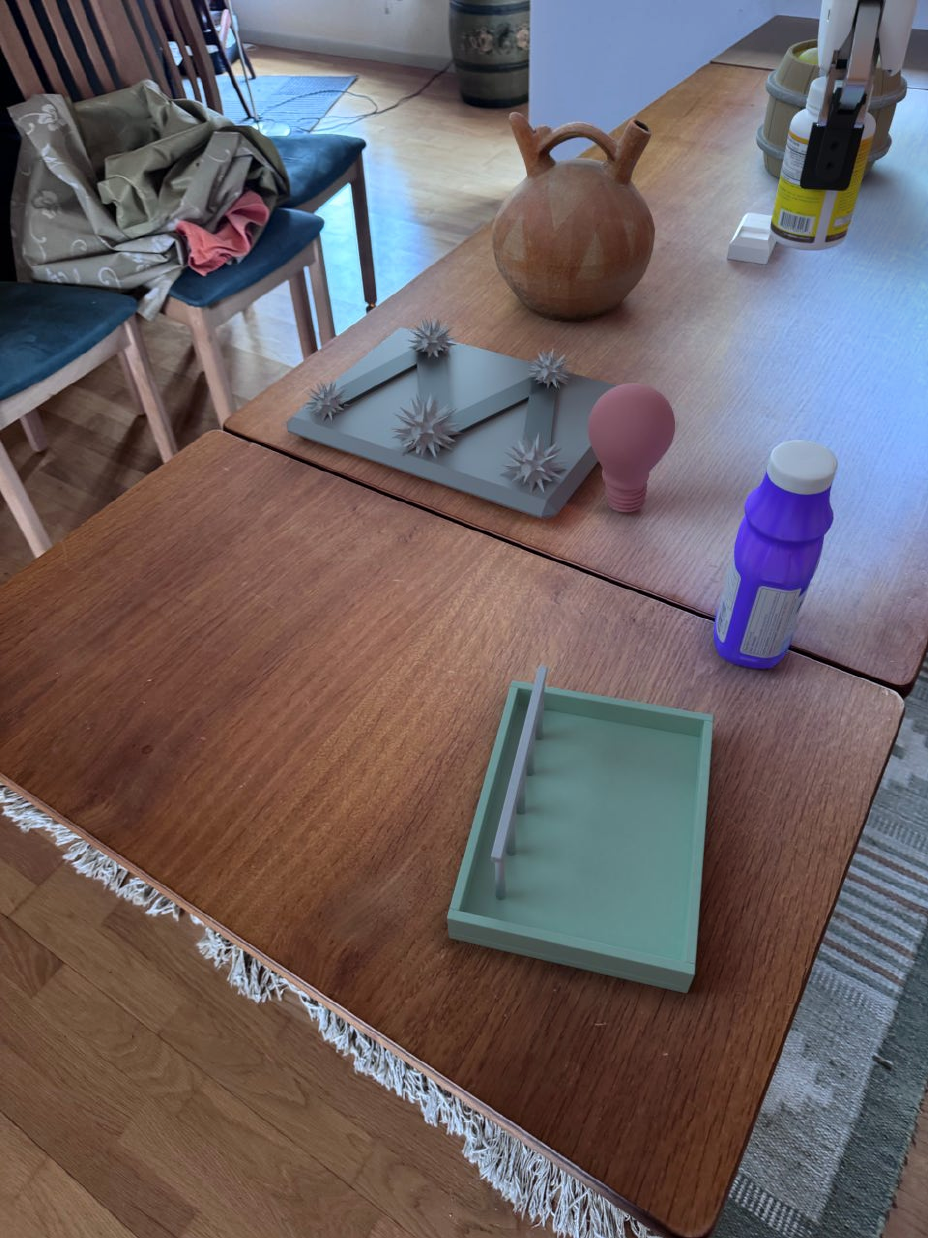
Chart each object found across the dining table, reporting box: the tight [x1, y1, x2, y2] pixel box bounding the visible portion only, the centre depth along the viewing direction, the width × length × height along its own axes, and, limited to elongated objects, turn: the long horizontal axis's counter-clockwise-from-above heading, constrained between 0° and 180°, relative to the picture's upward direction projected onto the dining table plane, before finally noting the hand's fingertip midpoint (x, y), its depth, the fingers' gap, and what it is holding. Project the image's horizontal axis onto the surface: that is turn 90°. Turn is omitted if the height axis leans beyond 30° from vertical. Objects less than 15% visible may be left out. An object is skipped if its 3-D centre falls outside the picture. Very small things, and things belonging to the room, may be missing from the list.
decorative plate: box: [285, 315, 620, 521], centre depth 86 cm, size 30×22×7 cm
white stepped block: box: [726, 212, 778, 266], centre depth 112 cm, size 5×9×3 cm, turn 156°
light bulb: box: [588, 382, 676, 513], centre depth 74 cm, size 7×7×12 cm
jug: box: [491, 111, 656, 323], centre depth 98 cm, size 18×18×20 cm
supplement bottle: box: [770, 76, 876, 252], centre depth 62 cm, size 6×6×10 cm
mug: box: [755, 38, 908, 180], centre depth 122 cm, size 19×25×15 cm
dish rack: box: [446, 664, 715, 994], centre depth 54 cm, size 14×18×7 cm
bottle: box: [713, 439, 839, 670], centre depth 61 cm, size 7×6×17 cm
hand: (822, 168), depth 62 cm, fingers closed on supplement bottle, 5 cm apart
